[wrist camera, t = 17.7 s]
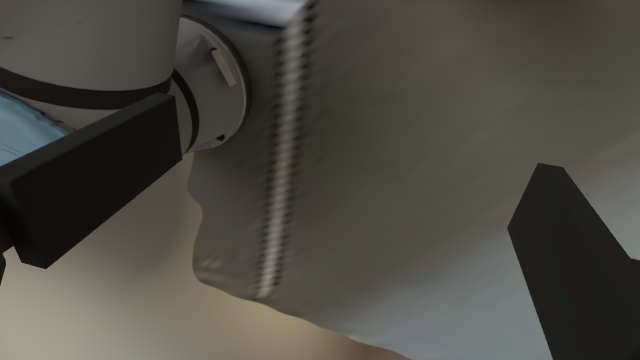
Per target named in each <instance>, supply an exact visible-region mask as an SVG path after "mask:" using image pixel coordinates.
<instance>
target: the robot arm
mask: <svg viewBox="0 0 640 360" xmlns="http://www.w3.org/2000/svg"><path fill="white" fill-rule="evenodd" d="M181 6H182V0H0V285H1V281H2V277H3V273H4V270H5V267H6V261H5V258H4V256H3V254H2V253H3V252H5V251H6V250H8V249H9V248H11V247H12V246H14V247H15V249H16V251H17V254H18V256H19V258H20V260H21V262H22V263H25V264H29V265H32V266H36V267H40V268H43V269H47V268H48V267H49V266H50V265H52V264H53V263H54V262H55V261H57V260H58V259H59V258H60V257H61V256H63V255H64V254H65V253H66V252H68V251H69V250H70V249H72V248H73V247H74V246H75V245H77V244H78V243H79V242H80V241H81V240H83V239H84V238H85V237H86V236H88V235H89V234H90V233H91V232H93V231H94V230H95V229H96V228H98V227H99V226H100V225H101V224H102V223H104V222H105V221H106V220H108V219H109V218H110V217H111V216H112V215H114V214H115V213H116V212H117V211H119V210H120V209H121V208H122V207H124V206H125V205H126V204H127V203H129V202H130V201H131V200H132V199H134V198H135V197H136V196H137V195H139V194H140V193H141V192H142V191H144V190H145V189H146V188H147V187H148V186H150V185H151V184H152V183H153V182H155V181H156V180H157V179H159V178H160V177H161V176H162V175H163V174H165V173H166V172H167V171H168V170H170V169H171V168H172V167H173V166H175V165H176V164H177V163H178V162H180V161H181V160H182V156H183V154H185V153H189V152H194V151H199V150H203V149H209V148H213V147H216V146H219V145H221V144H223V143H224V142H226V141H227V140H228V139H229V138H230V137H232V136H233V135H234V134H235V133H236V132H237V131H238V130H239V129H240V128H241V126H242V125H243V123H244V122H245V120H246V118H247V115H248V112H249V108H250V102H251V89H250V82H249V78H248V74H247V71H246V68H245V66H244V64H243V61H242V60H241V58H240V56H239V54H238V53H237V51H236V49H235V48H234V47H233V45H232V44H231V43H230V42H229V41H228V40H227V38H226V37H225V36H223V35H222V34H221V33H220V32H219V31H218V30H217V29H215V28H214V27H212V26H211V25H209V24H207V23H206V22H204V21H202V20H199V19H197V18H194V17H191V16H186V15H180V14H181ZM507 229H508V232H509V235H510V238H511V240H512V243H513V246H514V249H515V252H516V255H517V258H518V260H519V263H520V266H521V269H522V272H523V275H524V278H525V280H526V283H527V286H528V289H529V292H530V295H531V298H532V300H533V303H534V306H535V309H536V312H537V315H538V318H539V320H540V323H541V326H542V329H543V332H544V335H545V338H546V341H547V343H548V346H549V349H550V352H551V355H552V358H553V360H640V260H635V259H631V258H630V257H629V256H628V255H627V253H626V252H625V251H624V249H623V248H622V247H621V245H620V244H619V243H618V241H617V240H616V238H615V237H614V236H613V234H612V233H611V232H610V230H609V229H608V228H607V226H606V225H605V224H604V222H603V221H602V220H601V218H600V217H599V215H598V214H597V213H596V211H595V210H594V209H593V207H592V206H591V205H590V203H589V202H588V201H587V199H586V198H585V197H584V195H583V194H582V193H581V191H580V190H579V188H578V187H577V186H576V184H575V183H574V182H573V180H572V179H571V178H570V176H569V175H568V174H567V172H566V171H565V170H564V168H563V167H558V166H553V165H547V164H542V163H538V164H537V166H536V168H535V170H534V173H533V175H532V177H531V179H530V181H529V183H528V185H527V187H526V189H525V191H524V194H523V196H522V198H521V200H520V202H519V204H518V206H517V208H516V210H515V213H514V215H513V217H512V219H511V221H510V223H509V225H508V227H507Z"/></svg>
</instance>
